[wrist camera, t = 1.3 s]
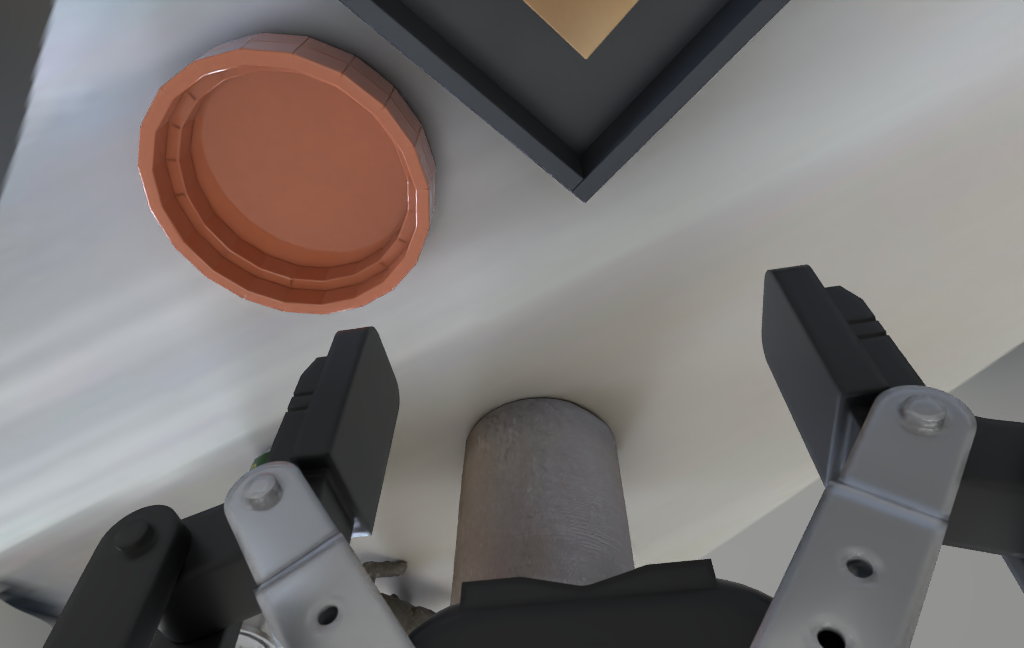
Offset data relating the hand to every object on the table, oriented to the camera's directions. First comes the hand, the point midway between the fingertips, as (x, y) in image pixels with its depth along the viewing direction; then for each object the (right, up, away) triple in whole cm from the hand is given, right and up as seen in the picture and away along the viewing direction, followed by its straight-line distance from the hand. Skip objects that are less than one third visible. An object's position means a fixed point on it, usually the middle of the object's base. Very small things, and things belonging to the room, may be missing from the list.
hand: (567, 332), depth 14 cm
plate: (-11, +7, +17) cm, 21 cm away
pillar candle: (+1, -8, +28) cm, 29 cm away
